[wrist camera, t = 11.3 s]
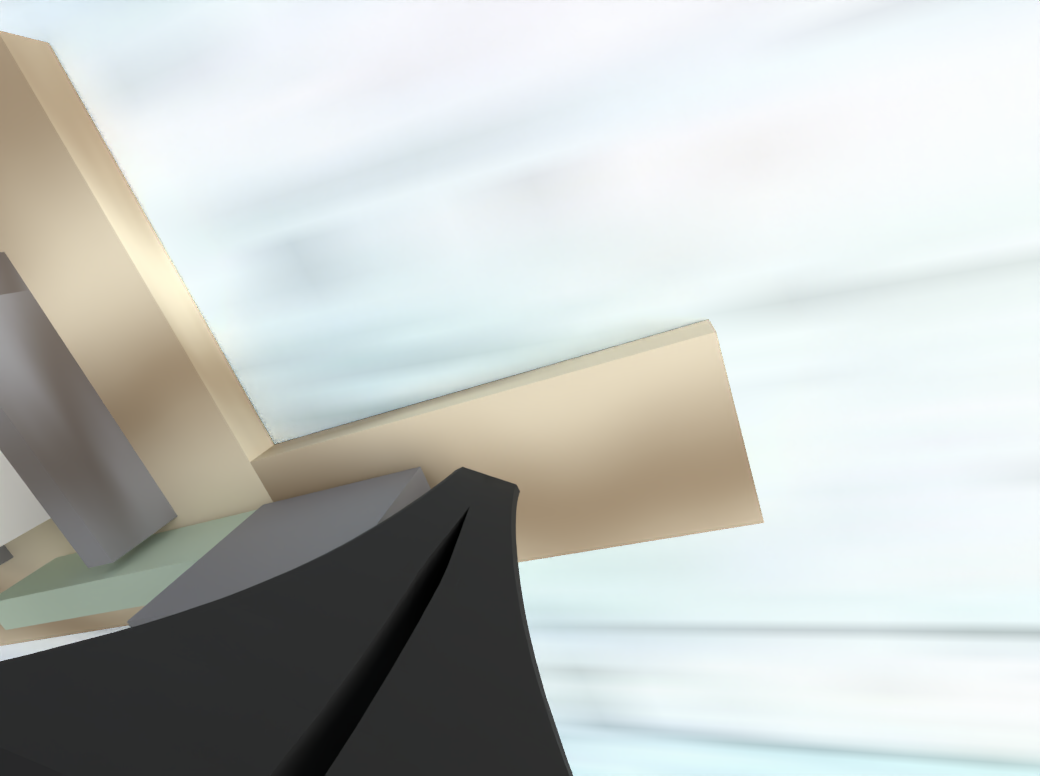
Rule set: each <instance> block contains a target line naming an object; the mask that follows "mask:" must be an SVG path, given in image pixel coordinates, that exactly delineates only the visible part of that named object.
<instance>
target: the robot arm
mask: <svg viewBox="0 0 1040 776" xmlns="http://www.w3.org/2000/svg"><path fill="white" fill-rule="evenodd" d="M519 493H520V490H519V488H518V486H517V485H516V484H514V483H511V482H508V481H505V480H502V479H498V478H495V477H492V476H489V475H486V474H483V473H480V472H477V471H474V470H471V469H468V468H465V467H461V468H459V469H457V470H455V471H454V472H453V473H451V474H450V475H449V476H448V477H446V478H445V479H444V480H442V481H441V482H440V483H439V484H437V485H436V486H435V487H433V488H432V489H430V490H429V491H428V492H426V493H425V494H424V495H422V496H421V497H419V498H418V499H416V500H415V501H413V502H412V503H410V504H409V505H407V506H406V507H404V508H403V509H401V510H400V511H398V512H397V513H395V514H394V515H392V516H391V517H389V518H388V519H386V520H384V521H383V522H381V523H379V524H378V525H376V526H374V527H373V528H371V529H369V530H367V531H366V532H364V533H362V534H361V535H359V536H357V537H355V538H354V539H352V540H350V541H348V542H347V543H345V544H343V545H341V546H339V547H337V548H335V549H333V550H331V551H330V552H328V553H326V554H324V555H322V556H320V557H317V558H315V559H313V560H311V561H309V562H307V563H305V564H303V565H301V566H299V567H296V568H294V569H292V570H290V571H287V572H285V573H283V574H280V575H278V576H276V577H273V578H271V579H269V580H266V581H264V582H261V583H259V584H257V585H254V586H252V587H249V588H247V589H244V590H242V591H239V592H237V593H234V594H232V595H229V596H226V597H224V598H221V599H218V600H215V601H212V602H209V603H206V604H203V605H200V606H197V607H194V608H191V609H188V610H185V611H182V612H179V613H177V614H174V615H170V616H167V617H164V618H161V619H158V620H154V621H151V622H148V623H145V624H142V625H138V626H135V627H131V628H128V629H124V630H121V631H117V632H114V633H110V634H106V635H102V636H99V637H95V638H91V639H87V640H83V641H79V642H76V643H72V644H68V645H64V646H60V647H56V648H52V649H49V650H45V651H41V652H37V653H33V654H29V655H25V656H21V657H17V658H13V659H8V660H4V661H0V776H573V774H572V771H571V769H570V766H569V764H568V761H567V758H566V755H565V752H564V749H563V746H562V743H561V740H560V737H559V734H558V731H557V728H556V725H555V722H554V719H553V716H552V713H551V710H550V707H549V704H548V701H547V698H546V695H545V692H544V688H543V685H542V681H541V677H540V674H539V670H538V667H537V663H536V659H535V655H534V651H533V647H532V643H531V638H530V634H529V630H528V625H527V620H526V615H525V609H524V604H523V597H522V591H521V585H520V577H519V569H518V557H517V545H516V509H517V501H518V497H519Z"/></svg>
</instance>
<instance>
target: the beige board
mask: <svg viewBox="0 0 1040 776" xmlns="http://www.w3.org/2000/svg"><path fill="white" fill-rule="evenodd" d="M0 450H1V452H2V453H3V454H4V456H5V457H6V458H7V460H8V461H9V463H10V464H11V465H12V467H13V468H14V469H15V471H16V472H17V473H18V475H19V476H20V477H21V479H22V480H23V481H24V483H25V484H26V485H27V487H28V488H29V489H30V491H31V492H32V493H33V495H34V496H35V497H36V499H37V500H38V501H39V503H40V504H41V505H42V507H43V508H44V509H45V511H46V512H47V513H48V515H49V516H50V519H48V520H47V521H45V522H43V523H41V524H40V525H38V526H36V527H34V528H33V529H31V530H29V531H27V532H26V533H24V534H22V535H20V536H18V537H17V538H15V539H13V540H11V541H10V542H8V543H6V544H4V545H3V546H1V547H0V593H2V592H3V591H5V590H7V589H8V588H10V587H11V586H13V585H14V584H16V583H17V582H19V581H21V580H22V579H24V578H25V577H27V576H28V575H30V574H31V573H33V572H35V571H36V570H38V569H39V568H41V567H42V566H44V565H45V564H47V563H49V562H50V561H52V560H53V559H55V558H57V557H61V556H65V555H69V554H74V553H77V554H78V555H79V556H80V558H81V559H82V560H83V562H84V563H85V564H86V566H87V567H88V568H91V567H96V566H100V565H105V564H109V563H114V562H115V561H116V560H118V559H119V558H120V557H122V556H123V555H125V554H126V553H127V552H129V551H130V550H132V549H133V548H134V547H136V546H137V545H138V544H140V543H141V542H143V541H144V540H145V539H147V538H148V537H150V536H151V535H153V534H157V533H161V532H165V531H170V530H174V529H178V528H182V527H186V526H191V525H195V524H199V523H203V522H207V521H211V520H216V519H220V518H224V517H228V516H232V515H237V514H241V513H245V512H249V511H253V510H257V509H258V508H260V507H261V506H262V505H264V504H268V503H272V502H276V501H280V500H284V499H289V498H293V497H297V496H301V495H305V494H309V493H313V492H317V491H322V490H326V489H330V488H334V487H338V486H342V485H346V484H351V483H355V482H359V481H363V480H367V479H371V478H375V477H379V476H384V475H388V474H392V473H396V472H400V471H404V470H408V469H413V468H417V467H421V469H422V471H423V473H424V475H425V477H426V480H427V482H428V484H429V486H430V488H431V489H432V488H433V487H435V486H436V485H437V484H439V483H440V482H441V481H442V480H444V479H445V478H446V477H448V476H449V475H450V474H451V473H453V472H454V471H455V470H457V469H459V468H461V467H465V468H468V469H471V470H474V471H477V472H480V473H483V474H486V475H489V476H492V477H495V478H498V479H502V480H505V481H508V482H511V483H514V484H516V485H517V486H518V488H519V490H520V493H519V497H518V501H517V509H516V545H517V557H518V562H523V561H529V560H535V559H542V558H548V557H554V556H560V555H566V554H573V553H579V552H585V551H591V550H597V549H604V548H610V547H616V546H622V545H628V544H635V543H641V542H647V541H653V540H659V539H666V538H672V537H678V536H684V535H690V534H697V533H703V532H709V531H715V530H721V529H728V528H734V527H740V526H746V525H752V524H759V523H764V521H763V517H762V513H761V509H760V505H759V501H758V497H757V493H756V489H755V485H754V481H753V477H752V473H751V469H750V465H749V461H748V457H747V453H746V449H745V445H744V441H743V437H742V433H741V429H740V425H739V421H738V417H737V413H736V409H735V405H734V401H733V397H732V393H731V389H730V385H729V381H728V377H727V373H726V369H725V365H724V361H723V357H722V353H721V349H720V345H719V341H718V337H717V333H716V331H715V329H714V327H713V326H712V324H711V322H710V321H709V319H708V320H705V321H701V322H698V323H694V324H691V325H687V326H684V327H681V328H677V329H674V330H670V331H667V332H663V333H660V334H656V335H653V336H649V337H646V338H642V339H639V340H635V341H632V342H629V343H625V344H622V345H618V346H615V347H611V348H608V349H604V350H601V351H597V352H594V353H590V354H587V355H583V356H580V357H576V358H573V359H570V360H566V361H563V362H559V363H556V364H552V365H549V366H545V367H542V368H538V369H535V370H531V371H528V372H524V373H521V374H518V375H514V376H511V377H507V378H504V379H500V380H497V381H493V382H490V383H486V384H483V385H479V386H476V387H472V388H469V389H466V390H462V391H459V392H455V393H452V394H448V395H445V396H441V397H438V398H434V399H431V400H427V401H424V402H420V403H417V404H414V405H410V406H407V407H403V408H400V409H396V410H393V411H389V412H386V413H382V414H379V415H375V416H372V417H368V418H365V419H362V420H358V421H355V422H351V423H348V424H344V425H341V426H337V427H334V428H330V429H327V430H323V431H320V432H316V433H313V434H310V435H306V436H303V437H299V438H296V439H292V440H289V441H285V442H282V443H278V444H275V445H274V443H273V441H272V440H271V438H270V436H269V434H268V432H267V431H266V429H265V427H264V425H263V424H262V422H261V420H260V418H259V416H258V415H257V413H256V411H255V409H254V408H253V406H252V404H251V402H250V400H249V399H248V397H247V395H246V393H245V391H244V390H243V388H242V386H241V384H240V383H239V381H238V379H237V377H236V375H235V374H234V372H233V370H232V368H231V367H230V365H229V363H228V361H227V359H226V358H225V356H224V354H223V352H222V351H221V349H220V347H219V345H218V343H217V342H216V340H215V338H214V336H213V335H212V333H211V331H210V329H209V327H208V326H207V324H206V322H205V320H204V318H203V317H202V315H201V313H200V311H199V310H198V308H197V306H196V304H195V302H194V301H193V299H192V297H191V295H190V294H189V292H188V290H187V288H186V286H185V285H184V283H183V281H182V279H181V278H180V276H179V274H178V272H177V270H176V269H175V267H174V265H173V263H172V261H171V260H170V258H169V256H168V254H167V253H166V251H165V249H164V247H163V245H162V244H161V242H160V240H159V238H158V237H157V235H156V233H155V231H154V229H153V228H152V226H151V224H150V222H149V221H148V219H147V217H146V215H145V213H144V212H143V210H142V208H141V206H140V204H139V203H138V201H137V199H136V197H135V196H134V194H133V192H132V190H131V188H130V187H129V185H128V183H127V181H126V180H125V178H124V176H123V174H122V172H121V171H120V169H119V167H118V165H117V164H116V162H115V160H114V158H113V156H112V155H111V153H110V151H109V149H108V148H107V146H106V144H105V142H104V140H103V139H102V137H101V135H100V133H99V131H98V130H97V128H96V126H95V124H94V123H93V121H92V119H91V117H90V115H89V114H88V112H87V110H86V108H85V107H84V105H83V103H82V101H81V99H80V98H79V96H78V94H77V92H76V91H75V89H74V87H73V85H72V83H71V82H70V80H69V78H68V76H67V74H66V73H65V71H64V69H63V67H62V66H61V64H60V62H59V60H58V58H57V57H56V55H55V53H54V51H53V50H52V48H51V46H50V44H49V43H46V42H43V41H39V40H35V39H31V38H27V37H23V36H19V35H15V34H11V33H7V32H3V31H0ZM145 606H146V605H145ZM143 607H144V606H140V607H134V608H128V609H123V610H117V611H111V612H106V613H100V614H94V615H89V616H83V617H77V618H72V619H66V620H60V621H55V622H49V623H43V624H38V625H32V626H26V627H21V628H15V629H9V630H5V629H4V628H3V626H2V625H1V624H0V646H3V645H9V644H15V643H21V642H27V641H34V640H40V639H46V638H52V637H58V636H65V635H71V634H77V633H83V632H89V631H95V630H102V629H108V628H114V627H120V626H126V625H129V624H128V623H127V621H128V620H129V619H130V618H132V617H133V616H134V615H135V614H136V613H137V612H139V611H140V610H141V609H142V608H143Z"/></svg>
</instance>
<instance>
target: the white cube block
mask: <svg viewBox="0 0 1040 776" xmlns="http://www.w3.org/2000/svg"><path fill="white" fill-rule="evenodd" d="M48 519H50V516H49V515H48V513H47V512H46V511H45V509H44V508H43V507H42V505H41V504H40V503H39V501H38V500H37V499H36V497H35V496H34V495H33V493H32V492H31V491H30V489H29V488H28V487H27V485H26V484H25V483H24V481H23V480H22V479H21V477H20V476H19V475H18V473H17V472H16V471H15V469H14V468H13V467H12V465H11V464H10V463H9V461H8V460H7V458H6V457H5V456H4V454H3V453H2V452H1V450H0V547H1V546H3V545H4V544H6V543H8V542H10V541H11V540H13V539H15V538H17V537H18V536H20V535H22V534H24V533H26V532H27V531H29V530H31V529H33V528H34V527H36V526H38V525H40V524H41V523H43V522H45V521H47V520H48Z"/></svg>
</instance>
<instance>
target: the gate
mask: <svg viewBox="0 0 1040 776" xmlns="http://www.w3.org/2000/svg"><path fill="white" fill-rule="evenodd" d="M430 489H431V488H430V486H429V484H428V482H427V480H426V477H425V475H424V473H423V471H422V469H421V467H417V468H413V469H408V470H404V471H400V472H396V473H392V474H388V475H384V476H379V477H375V478H371V479H367V480H363V481H359V482H355V483H351V484H346V485H342V486H338V487H334V488H330V489H326V490H322V491H317V492H313V493H309V494H305V495H301V496H297V497H293V498H289V499H284V500H280V501H276V502H272V503H268V504H264V505H262V506H261V507H260V508H258V509H257V510H253V511H249V512H245V513H241V514H237V515H232V516H228V517H224V518H220V519H216V520H211V521H207V522H203V523H199V524H195V525H191V526H186V527H182V528H178V529H174V530H170V531H165V532H161V533H157V534H153V535H151V536H150V537H148V538H147V539H145V540H144V541H143V542H141V543H140V544H138V545H137V546H136V547H134V548H133V549H132V550H130V551H129V552H127V553H126V554H125V555H123V556H122V557H120V558H119V559H118V560H116V561H115V562H114V563H109V564H105V565H100V566H96V567H91V568H88V567H87V566H86V564H85V563H84V562H83V560H82V559H81V558H80V556H79V555H78V554H77V553H74V554H69V555H65V556H61V557H57V558H55V559H53V560H52V561H50V562H49V563H47V564H45V565H44V566H42V567H41V568H39V569H38V570H36V571H35V572H33V573H31V574H30V575H28V576H27V577H25V578H24V579H22V580H21V581H19V582H17V583H16V584H14V585H13V586H11V587H10V588H8V589H7V590H5V591H3V592H2V593H0V624H1V625H2V626H3V628H4V629H5V630H9V629H15V628H21V627H26V626H32V625H38V624H43V623H49V622H55V621H60V620H66V619H72V618H77V617H83V616H89V615H94V614H100V613H106V612H111V611H117V610H123V609H128V608H134V607H140V606H144V607H143V608H142V609H141V610H140V611H139V612H137V613H136V614H135V615H134V616H133V617H132V618H130V619H129V620H128V621H127V623H128V624H129V626H130V627H135V626H138V625H142V624H145V623H148V622H151V621H154V620H158V619H161V618H164V617H167V616H170V615H174V614H177V613H179V612H182V611H185V610H188V609H191V608H194V607H197V606H200V605H203V604H206V603H209V602H212V601H215V600H218V599H221V598H224V597H226V596H229V595H232V594H234V593H237V592H239V591H242V590H244V589H247V588H249V587H252V586H254V585H257V584H259V583H261V582H264V581H266V580H269V579H271V578H273V577H276V576H278V575H280V574H283V573H285V572H287V571H290V570H292V569H294V568H296V567H299V566H301V565H303V564H305V563H307V562H309V561H311V560H313V559H315V558H317V557H320V556H322V555H324V554H326V553H328V552H330V551H331V550H333V549H335V548H337V547H339V546H341V545H343V544H345V543H347V542H348V541H350V540H352V539H354V538H355V537H357V536H359V535H361V534H362V533H364V532H366V531H367V530H369V529H371V528H373V527H374V526H376V525H378V524H379V523H381V522H383V521H384V520H386V519H388V518H389V517H391V516H392V515H394V514H395V513H397V512H398V511H400V510H401V509H403V508H404V507H406V506H407V505H409V504H410V503H412V502H413V501H415V500H416V499H418V498H419V497H421V496H422V495H424V494H425V493H426V492H428V491H429V490H430ZM145 605H146V606H145Z"/></svg>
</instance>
